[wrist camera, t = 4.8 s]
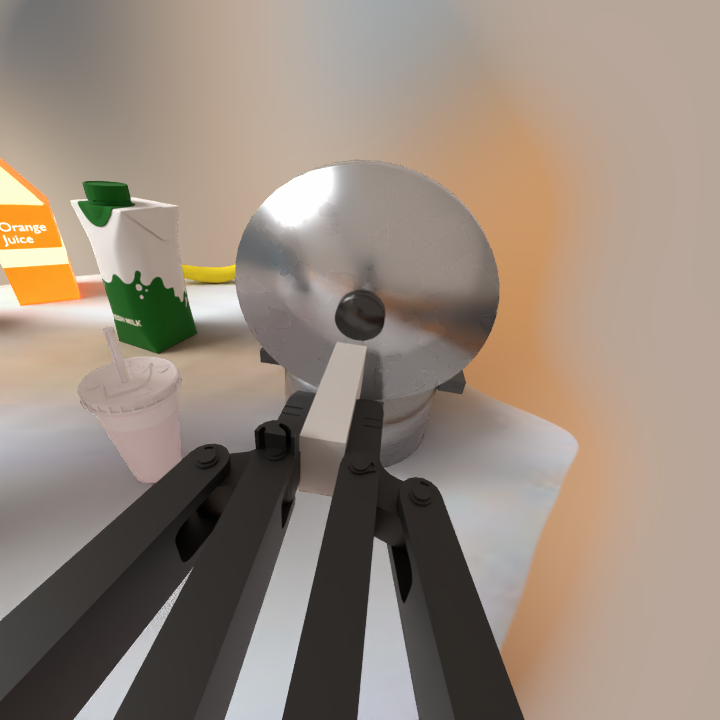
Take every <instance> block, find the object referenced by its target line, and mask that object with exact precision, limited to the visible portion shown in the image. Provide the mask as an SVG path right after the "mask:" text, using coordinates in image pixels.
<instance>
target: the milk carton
mask: <svg viewBox="0 0 720 720" xmlns="http://www.w3.org/2000/svg"><path fill="white" fill-rule="evenodd" d="M83 186H84V190H85V193H86V197H87V199H82V200H71V201H70V202H71V204H72V206H73V208H74V210H75V212H76V214H77V216H78V218H79V220H80V221H81V224H82V226H83V228H84V229H85V231H86V233H87V235H88V238H89V240H90V242H91V244H92V248H93V251H94V254H95V257H96V261H97V264H98V267H99V270H100V273H101V277H102V280H103V283H104V286H105V289H106V293H107V296H108V299H109V302H110V306H111V309H112V313H113V317H114V321H115V325H116V329H117V334H118V338H119V341H122V342H125V343H128V344H131V345H134V346H137V347H140V348H143V349H146V350H149V351H152V352H155V353H160V352H162V351H164V350H166V349H168V348H170V347H171V346H173V345H175V344H177V343H179V342H181V341H183V340H185V339H187V338H188V337H190V336H192V335H194V334H196V333H197V331H196V327H195V324H194V320H193V316H192V313H191V309H190V306H189V302H188V297H187V291H186V286H185V280H184V275H183V269H182V263H181V258H180V252H179V247H178V239H177V234H178V214H179V206H177V205H171V204H166V203H161V202H155V201H150V200H145V199H140V198H134V197H130V194H129V190H128V186H127V184H123V183H118V182H107V181H86V182H83Z"/></svg>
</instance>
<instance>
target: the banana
mask: <svg viewBox="0 0 720 720" xmlns="http://www.w3.org/2000/svg"><path fill="white" fill-rule="evenodd" d="M235 265H236V264H234V265H232V266H228V267H214V268H213V267H196V266H188V265H183V264H182V269H183V275H184V278H186V279H190V280H195V281H200V282H207V283H221V282H226V281H230V280H232V279H234V278H235Z"/></svg>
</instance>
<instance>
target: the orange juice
mask: <svg viewBox="0 0 720 720" xmlns="http://www.w3.org/2000/svg"><path fill="white" fill-rule="evenodd" d="M0 263H1V265H2V268H3V269H4V271H5V273H6V275H7V277H8V280H9V282H10V284H11V286H12V288H13V290H14V292H15V295H16V297H17V299H18V301H19V303H20V305H21V306H23V305H31V304H40V303H48V302H57V301H65V300H74V299H81V297H80V293H79V289H78V284H77V281H76V278H75V275H74V273H73V270H72V267H71V264H70V261H69V258H68V256H67V253H66V249H65V246H64V244H63V241H62V238H61V235H60V233H59V230H58V227H57V225H56V221H55V218H54V216H53V213H52V211H51V208H50V205H49V202H48V198H47V197H45V196H44V195H43V194H42V193H41V192H40V191H38V190H37V189H36V188H35V187H34V186H33V185H32V184H30V183H29V182H28V181H27V180H26V179H24V178H23V177H22V176H21V175H20V174H19V173H17V172H16V171H15V170H14V169H13V168H12V167H10V166H9V165H8V164H7V163H6V162H5V161H4V160H2V159H1V158H0Z"/></svg>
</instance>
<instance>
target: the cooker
mask: <svg viewBox="0 0 720 720" xmlns="http://www.w3.org/2000/svg"><path fill="white" fill-rule="evenodd" d="M260 357H261V362H264V363H270V364H276V365H280V364H279V363H278V362H276V361H275V360H274V359H273V358H272V357H271V356H270V355H269V354H268V353H267V351H266V350H265V349H264V348H263V347H262V348H261V350H260ZM465 384H466V381H465V378H464V374H463V370H461V371H460V372H459V373H457V374H456V375H455V376H453V377H452V378H450V379H449V380H447V381H446V382H444V383H442V384H440V385H438V386H436V387H434V388H432V389H430V390H427V391H424V392H422V393H419V394H415V395H411V396H407V397H402V398H396V399H385V400H367V399H360V400H366V401H373V402H379V403H380V404H381V406H382V408H383V410H384V417H383V428H382V439H381V450H380V462H381V464H382V466H383V467H387V466H390V465H393V464H395V463H398V462H400V461H402V460H404V459H405V458H406V457H408V456H409V455H411V454H412V453H413V452H414V451H415V450H416V449H417V447H418V446H419V444H420V442H421V440H422V438H423V435H424V431H425V428H426V424H427V421H428V417H429V414H430V410H431V407H432V403H433V400H434V396H435V393H436V389H437V387H438V390H439V391H446V392H452V393H458V394H462V393H463V390H464V387H465ZM298 390H299V391H305V392H311V393H317V390H318V388H317V387H315V386H313V385H311V384H309V383H307V382H305V381H303V380H301V379H299V378H298V377H296V376H295V375H293V374H292V373H290V372H289V371H287V370H286V369H285V397H286V403H287V401H288V399H289V397H290V396H291V395H293V394H294V393H295V392H296V391H298Z"/></svg>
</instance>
